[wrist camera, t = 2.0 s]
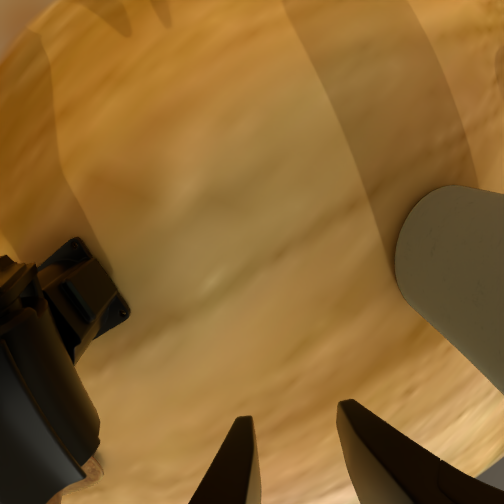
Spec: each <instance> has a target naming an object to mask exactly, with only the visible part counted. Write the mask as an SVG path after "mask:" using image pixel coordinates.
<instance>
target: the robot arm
mask: <svg viewBox="0 0 504 504" xmlns="http://www.w3.org/2000/svg"><path fill="white" fill-rule="evenodd" d="M74 242H75V243H77V248H75V247H74ZM120 310H123V311H125V313H126V314H122V313H121V311H120ZM130 313H131V311H130V308H129V307H128V306H127V304H126V303H125V302H124V300H123V299H122V298H121V296H120V295H119V293H118V292H117V288H116V287H115V285H114V284H113V282H112V281H111V280H110V278H109V277H108V275H107V274H106V272H105V271H104V270H103V268H102V267H101V265H100V264H99V262H98V261H97V260H96V259H94V258H93V257H92V255H91V254H90V252H89V251H88V249H87V248H86V246H85V245H84V243H83V242H82V240H81V239H80V238H78V237H74V238H72V239H70V240H69V241H68V242H67V243H65V244H64V245H63V246H62V247H61V248H60V249H58V250H57V251H56V252H55V253H54V254H53V255H52V256H50V257H49V258H48V259H47V260H46V261H45V262H44V263H43V264H41V265H40V266H39V267H38V268H37V267H36V264H35V262H34V263H29V264H26V263H21V264H17V262H14V261H13V260H12V259H11V258H10V257H8V256H7V255H3V256H0V504H46V503H47V502H48V501H49V500H50V499H51V498H52V497H53V496H54V495H55V494H56V493H58V492H59V491H61V490H62V489H64V488H65V487H67V486H68V485H71V484H73V483H76V482H78V481H81V480H83V479H85V478H86V477H87V474H86V473H85V472H84V470H83V469H82V468H81V467H82V466H83V465H84V464H85V463H86V462H87V461H88V460H89V459H90V458H91V457H92V456H93V454H94V453H95V452H96V450H97V448H98V446H99V444H100V439H99V438H98V435H99V428H100V419H99V416H98V413H97V411H96V409H95V407H94V405H93V403H92V401H91V400H90V398H89V396H88V394H87V392H86V390H85V388H84V386H83V384H82V382H81V380H80V378H79V376H78V374H77V372H76V369H75V367H74V366H75V365H76V363H77V362H78V360H79V359H80V357H81V356H82V354H83V353H84V351H85V350H86V348H87V347H88V346H89V344H90V343H91V341H92V340H94V339H96V338H97V337H99V336H100V335H102V334H104V333H105V332H107V331H108V330H110V329H112V328H113V327H115V326H117V325H118V324H120V323H121V322H123V321H125V320H126V319H127V318H128V317H129V316H130ZM336 424H337V430H338V434H339V438H340V442H341V446H342V450H343V454H344V458H345V462H346V466H347V470H348V473H349V476H350V479H351V481H352V484H353V486H354V489H355V491H356V494H357V496H358V499H359V501H360V504H504V491H502V490H500V489H498V488H495V487H493V486H490V485H488V484H486V483H483V482H481V481H479V480H477V479H475V478H473V477H471V476H469V475H467V474H465V473H463V472H461V471H460V470H458V469H456V468H455V467H453V466H451V465H450V464H448V463H447V462H445V461H443V460H441V461H440V458H439V457H437V456H435V455H434V454H432V453H431V452H429V451H428V450H426V449H425V448H423V447H422V446H420V445H419V444H417V443H416V442H414V441H413V440H411V439H410V438H408V437H407V436H405V435H404V434H402V433H401V432H399V431H398V430H397V429H395V428H394V427H392V426H391V425H389V424H388V423H386V422H385V421H384V420H382V419H381V418H379V417H378V416H376V415H375V414H374V413H372V412H371V411H369V410H368V409H367V408H365V407H364V406H362V405H361V404H360V403H358V402H357V401H355V400H354V399H348V400H343V401H340V402H338V405H337V419H336ZM188 504H261V477H260V468H259V460H258V451H257V442H256V435H255V429H254V423H253V418H252V416H240V417H237V418H236V419H235V421H234V423H233V425H232V427H231V429H230V430H229V432H228V434H227V436H226V438H225V440H224V442H223V443H222V445H221V447H220V449H219V451H218V453H217V454H216V456H215V458H214V460H213V462H212V463H211V465H210V467H209V469H208V470H207V472H206V474H205V476H204V478H203V479H202V481H201V483H200V484H199V486H198V488H197V490H196V491H195V493H194V495H193V496H192V498H191V500H190V502H189V503H188Z"/></svg>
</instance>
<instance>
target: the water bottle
mask: <svg viewBox="0 0 504 504" xmlns="http://www.w3.org/2000/svg"><path fill="white" fill-rule="evenodd" d="M395 274H396V279H397V283H398V286H399V288H400V291H401V293H402V295H403V297H404V298H405V300H406V301H407V302H408V304H409V305H410V306H411V307H412V308H413V309H415V310H416V311H417V312H418V313H419V314H420V315H421V316H422V317H423V318H425V319H426V320H427V321H428V322H429V323H430V324H431V325H432V326H433V327H434V328H435V329H437V330H438V331H439V332H440V333H441V334H442V335H443V336H444V337H445V338H446V339H447V340H448V341H449V342H450V343H451V344H453V345H454V346H455V347H456V348H457V349H458V350H459V351H460V352H461V353H462V354H463V355H464V356H465V357H466V358H467V359H468V360H469V361H470V362H471V363H472V364H473V365H474V366H475V367H476V368H477V369H478V370H479V371H480V372H481V373H482V374H483V375H484V376H485V377H486V378H487V379H488V380H489V381H490V382H491V383H492V384H493V385H494V386H495V387H496V388H497V389H498V390H499V391H500V392H501V393H502V394H503V395H504V194H500V193H495V192H490V191H485V190H480V189H475V188H470V187H465V186H457V185H451V186H445V187H441V188H438V189H436V190H434V191H432V192H430V193H429V194H428V195H426V196H425V197H423V198H422V199H421V200H420V201H419V202H418V203H417V205H416V206H415V207H414V208H413V209H412V211H411V212H410V214H409V215H408V217H407V218H406V220H405V222H404V224H403V227H402V229H401V231H400V234H399V238H398V241H397V245H396V253H395Z"/></svg>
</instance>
